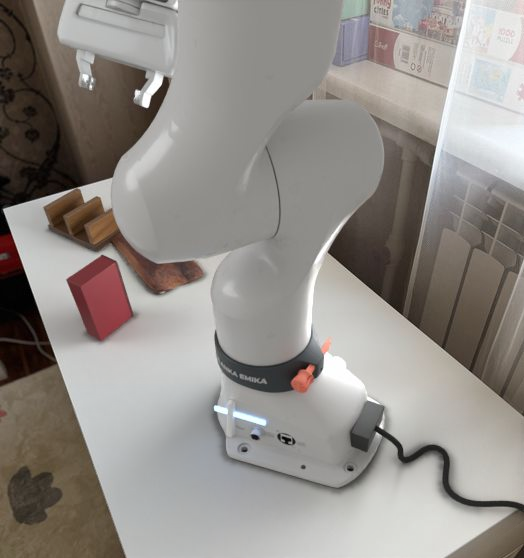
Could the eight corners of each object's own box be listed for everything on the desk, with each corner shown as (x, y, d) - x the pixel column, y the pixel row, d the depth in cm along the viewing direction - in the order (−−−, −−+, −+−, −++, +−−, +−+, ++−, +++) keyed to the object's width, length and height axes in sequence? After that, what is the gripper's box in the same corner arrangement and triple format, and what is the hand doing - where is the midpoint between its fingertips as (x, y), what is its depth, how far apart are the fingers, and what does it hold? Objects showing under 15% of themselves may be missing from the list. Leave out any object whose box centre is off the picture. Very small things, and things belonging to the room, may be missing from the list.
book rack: (130, 229, 106) (124, 205, 102) (96, 252, 101) (88, 228, 97) (84, 209, 112) (76, 186, 108) (49, 230, 107) (40, 207, 103)
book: (133, 315, 88) (117, 261, 80) (101, 341, 84) (80, 287, 76) (120, 308, 89) (102, 254, 81) (87, 333, 85) (65, 279, 77)
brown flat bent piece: (98, 223, 106) (143, 201, 108) (102, 232, 107) (146, 210, 110) (153, 294, 90) (204, 266, 92) (157, 303, 91) (207, 276, 94)
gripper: (57, -38, 71) (38, 72, 75) (188, -6, 66) (161, 110, 70) (87, -17, 77) (69, 84, 81) (210, 14, 72) (184, 120, 76)
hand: (112, 97), depth 75 cm, fingers open, 8 cm apart
